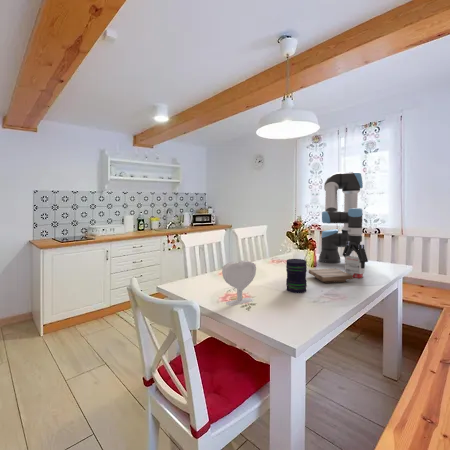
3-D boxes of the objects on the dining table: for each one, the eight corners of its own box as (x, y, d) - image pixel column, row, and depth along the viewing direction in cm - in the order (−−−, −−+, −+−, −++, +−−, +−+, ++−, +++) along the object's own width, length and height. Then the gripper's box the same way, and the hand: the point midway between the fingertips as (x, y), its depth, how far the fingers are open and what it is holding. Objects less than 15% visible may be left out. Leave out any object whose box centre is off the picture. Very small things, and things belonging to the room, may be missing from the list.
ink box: (363, 277, 157) (363, 257, 156) (359, 278, 154) (359, 258, 153) (348, 274, 163) (349, 255, 162) (344, 275, 160) (345, 256, 159)
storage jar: (301, 286, 141) (301, 258, 140) (310, 292, 131) (310, 262, 130) (283, 287, 139) (283, 259, 138) (290, 293, 130) (290, 263, 129)
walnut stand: (308, 276, 160) (308, 269, 160) (335, 274, 163) (335, 268, 162) (323, 284, 143) (323, 277, 143) (352, 282, 146) (352, 275, 146)
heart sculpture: (227, 306, 115) (226, 265, 114) (221, 302, 120) (221, 262, 118) (257, 300, 122) (257, 260, 121) (251, 296, 127) (250, 259, 125)
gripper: (336, 232, 168) (336, 266, 170) (362, 237, 144) (362, 276, 145) (347, 232, 169) (347, 265, 171) (375, 237, 145) (374, 275, 146)
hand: (354, 270), depth 158 cm, fingers open, 13 cm apart
